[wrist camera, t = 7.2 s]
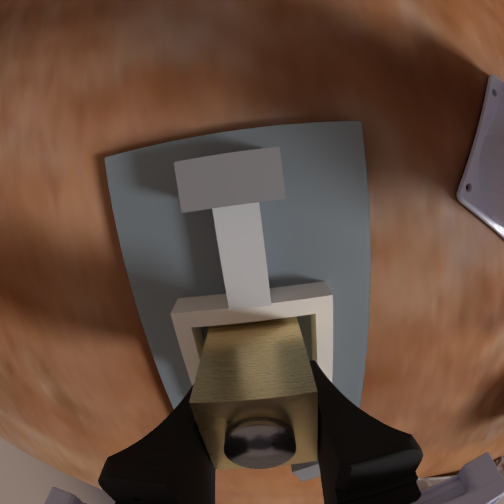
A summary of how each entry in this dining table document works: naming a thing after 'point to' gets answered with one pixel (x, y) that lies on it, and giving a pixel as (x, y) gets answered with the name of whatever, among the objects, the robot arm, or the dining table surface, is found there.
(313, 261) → the base
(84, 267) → the dining table surface
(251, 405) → the block
